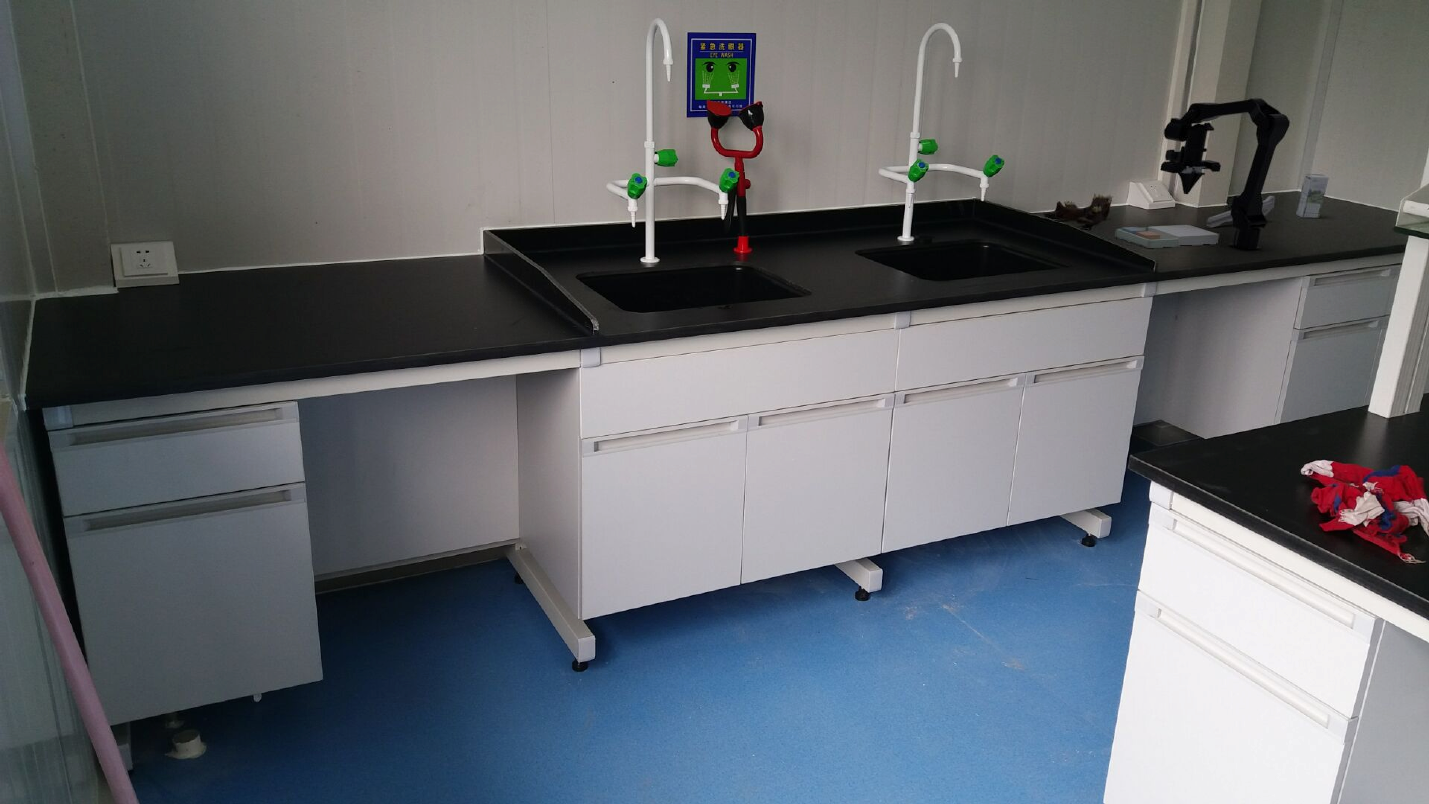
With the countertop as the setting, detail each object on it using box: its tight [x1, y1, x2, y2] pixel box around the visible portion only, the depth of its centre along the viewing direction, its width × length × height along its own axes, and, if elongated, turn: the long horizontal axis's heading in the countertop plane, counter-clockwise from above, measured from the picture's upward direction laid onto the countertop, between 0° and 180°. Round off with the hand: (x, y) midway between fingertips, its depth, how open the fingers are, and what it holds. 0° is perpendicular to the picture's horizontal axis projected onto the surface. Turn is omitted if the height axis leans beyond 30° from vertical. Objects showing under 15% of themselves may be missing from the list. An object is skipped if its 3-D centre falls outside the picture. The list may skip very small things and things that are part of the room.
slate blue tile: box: [1121, 226, 1147, 235], centre depth 336 cm, size 5×5×2 cm
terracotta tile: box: [1136, 230, 1160, 240], centre depth 331 cm, size 5×5×2 cm
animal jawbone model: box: [1042, 193, 1113, 230], centre depth 357 cm, size 17×25×10 cm
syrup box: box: [1295, 173, 1330, 219], centre depth 374 cm, size 6×6×14 cm
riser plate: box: [1147, 224, 1220, 247], centre depth 337 cm, size 14×15×3 cm
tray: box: [1114, 227, 1179, 249], centre depth 333 cm, size 16×11×2 cm
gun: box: [1206, 195, 1276, 229], centre depth 361 cm, size 2×30×8 cm, turn 117°
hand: (1185, 194), depth 345 cm, fingers closed
